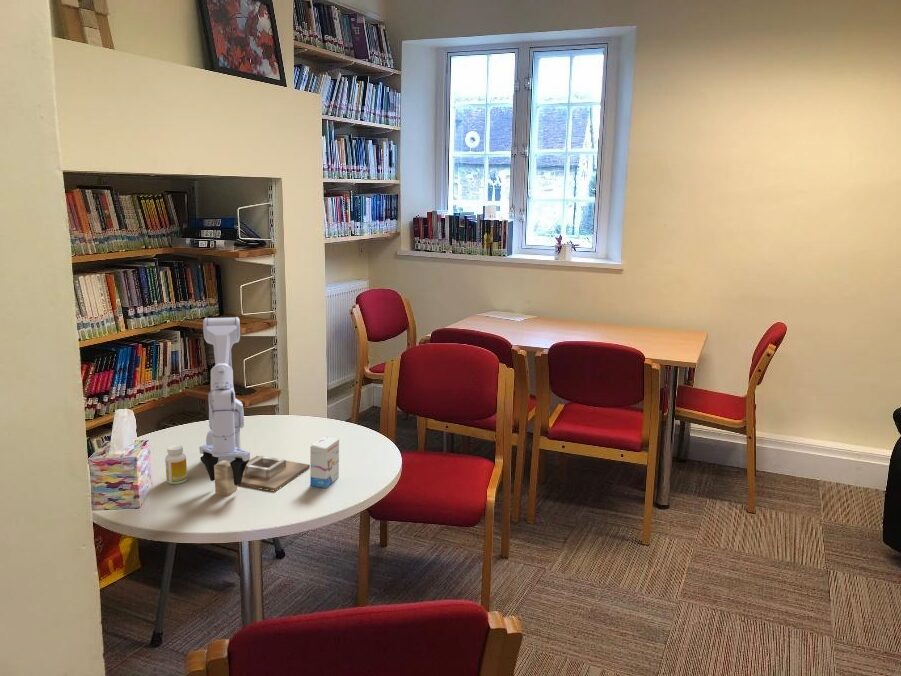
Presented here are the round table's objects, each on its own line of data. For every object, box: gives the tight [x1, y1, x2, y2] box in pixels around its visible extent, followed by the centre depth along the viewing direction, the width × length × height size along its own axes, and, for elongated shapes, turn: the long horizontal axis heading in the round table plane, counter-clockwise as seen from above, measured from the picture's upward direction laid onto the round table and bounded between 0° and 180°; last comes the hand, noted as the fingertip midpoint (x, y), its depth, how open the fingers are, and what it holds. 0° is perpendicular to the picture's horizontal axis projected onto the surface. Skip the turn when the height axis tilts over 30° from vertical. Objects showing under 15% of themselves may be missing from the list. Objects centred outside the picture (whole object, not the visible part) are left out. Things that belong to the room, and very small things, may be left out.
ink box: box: [309, 436, 340, 489], centre depth 204 cm, size 9×5×12 cm, turn 163°
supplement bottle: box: [164, 444, 188, 485], centre depth 203 cm, size 5×5×10 cm
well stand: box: [238, 455, 311, 492], centre depth 209 cm, size 18×18×4 cm
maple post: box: [214, 460, 238, 497], centre depth 197 cm, size 4×4×8 cm
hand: (225, 481), depth 197 cm, fingers open, 7 cm apart
